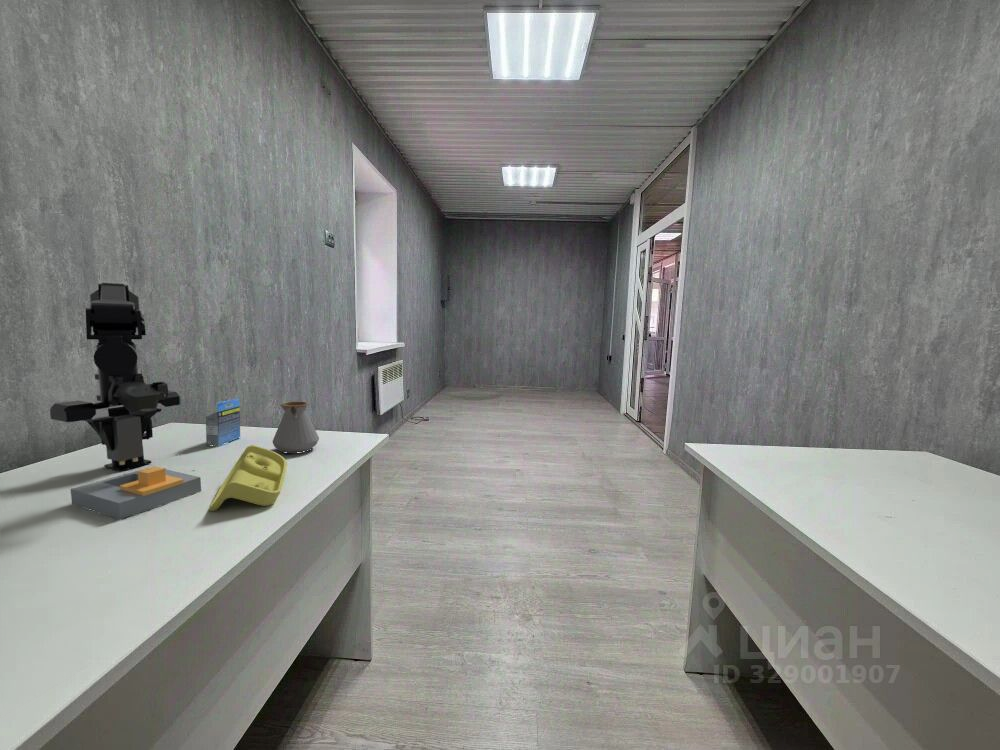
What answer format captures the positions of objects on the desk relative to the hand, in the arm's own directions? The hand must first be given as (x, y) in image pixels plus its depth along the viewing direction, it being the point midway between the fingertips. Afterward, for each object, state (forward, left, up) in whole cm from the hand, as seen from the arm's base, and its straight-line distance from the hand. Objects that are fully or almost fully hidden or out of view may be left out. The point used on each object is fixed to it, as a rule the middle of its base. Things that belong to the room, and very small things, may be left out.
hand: (124, 447), depth 85 cm
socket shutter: (+8, 0, -7) cm, 10 cm away
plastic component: (+21, +12, -10) cm, 26 cm away
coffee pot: (+9, +33, -10) cm, 36 cm away
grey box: (0, 0, -3) cm, 3 cm away
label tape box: (-18, +33, -10) cm, 39 cm away
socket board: (+4, 0, -10) cm, 10 cm away
